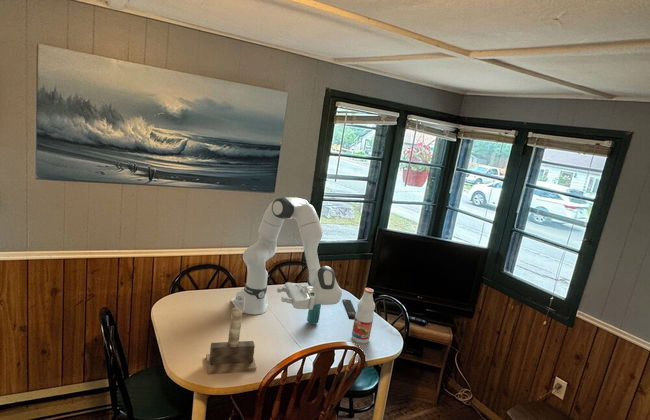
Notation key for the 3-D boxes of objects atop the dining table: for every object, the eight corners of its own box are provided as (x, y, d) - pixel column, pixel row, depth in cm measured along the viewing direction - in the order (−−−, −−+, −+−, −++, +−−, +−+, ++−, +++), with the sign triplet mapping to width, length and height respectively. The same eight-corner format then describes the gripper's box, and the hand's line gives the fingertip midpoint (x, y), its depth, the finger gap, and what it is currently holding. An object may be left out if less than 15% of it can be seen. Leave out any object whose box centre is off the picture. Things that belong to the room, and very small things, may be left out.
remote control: (348, 319, 237) (349, 317, 236) (342, 301, 260) (342, 299, 260) (357, 320, 238) (358, 318, 237) (350, 301, 261) (350, 299, 260)
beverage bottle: (314, 328, 220) (319, 293, 216) (303, 323, 223) (309, 289, 219) (320, 324, 225) (325, 290, 221) (310, 319, 229) (315, 286, 224)
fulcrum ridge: (207, 374, 169) (209, 353, 167) (206, 357, 180) (208, 337, 178) (256, 370, 176) (258, 350, 174) (251, 354, 187) (253, 336, 185)
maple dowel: (225, 343, 176) (229, 308, 173) (235, 340, 179) (239, 306, 176) (231, 348, 173) (234, 313, 170) (240, 345, 176) (244, 311, 173)
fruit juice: (372, 341, 216) (382, 291, 210) (360, 345, 209) (370, 294, 203) (359, 332, 222) (368, 284, 216) (347, 337, 216) (356, 287, 210)
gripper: (303, 279, 201) (275, 278, 196) (315, 298, 182) (285, 298, 178) (301, 291, 202) (273, 291, 198) (313, 311, 184) (283, 311, 179)
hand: (279, 294), depth 187 cm, fingers open, 8 cm apart
